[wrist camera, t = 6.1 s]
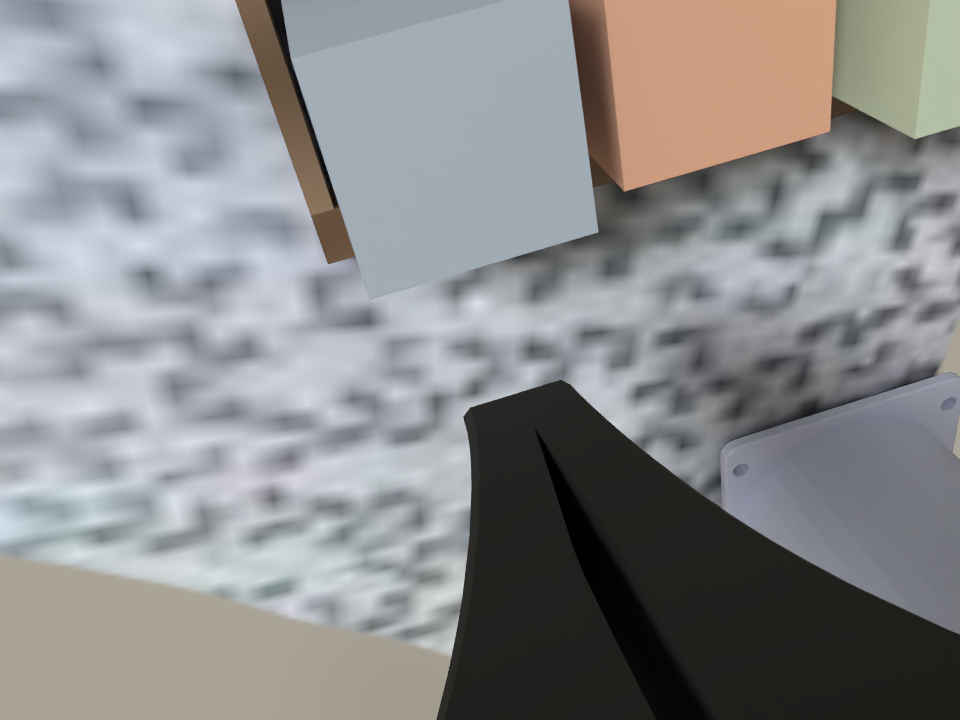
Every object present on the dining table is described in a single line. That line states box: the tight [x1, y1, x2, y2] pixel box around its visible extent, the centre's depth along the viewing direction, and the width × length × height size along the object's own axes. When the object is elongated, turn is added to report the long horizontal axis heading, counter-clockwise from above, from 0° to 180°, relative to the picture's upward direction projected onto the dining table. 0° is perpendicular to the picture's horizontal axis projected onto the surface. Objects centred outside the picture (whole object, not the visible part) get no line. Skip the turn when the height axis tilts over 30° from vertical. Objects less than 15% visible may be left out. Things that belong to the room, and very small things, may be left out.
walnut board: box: [235, 0, 858, 264], centre depth 18 cm, size 7×15×1 cm, turn 101°
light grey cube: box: [281, 0, 598, 299], centre depth 15 cm, size 4×4×4 cm
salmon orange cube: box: [568, 0, 836, 192], centre depth 16 cm, size 4×4×4 cm
